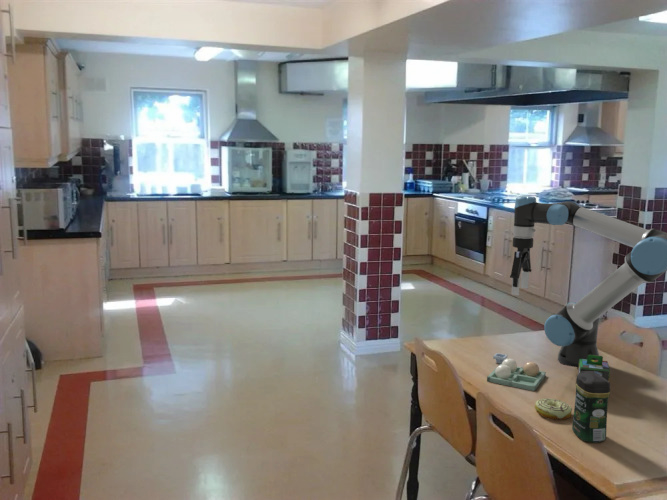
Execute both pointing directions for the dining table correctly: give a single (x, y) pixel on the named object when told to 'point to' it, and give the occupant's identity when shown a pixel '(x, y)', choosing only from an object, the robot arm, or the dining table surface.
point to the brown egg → (531, 369)
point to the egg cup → (499, 359)
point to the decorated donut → (553, 409)
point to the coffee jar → (591, 407)
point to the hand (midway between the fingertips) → (519, 291)
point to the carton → (519, 379)
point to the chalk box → (595, 366)
